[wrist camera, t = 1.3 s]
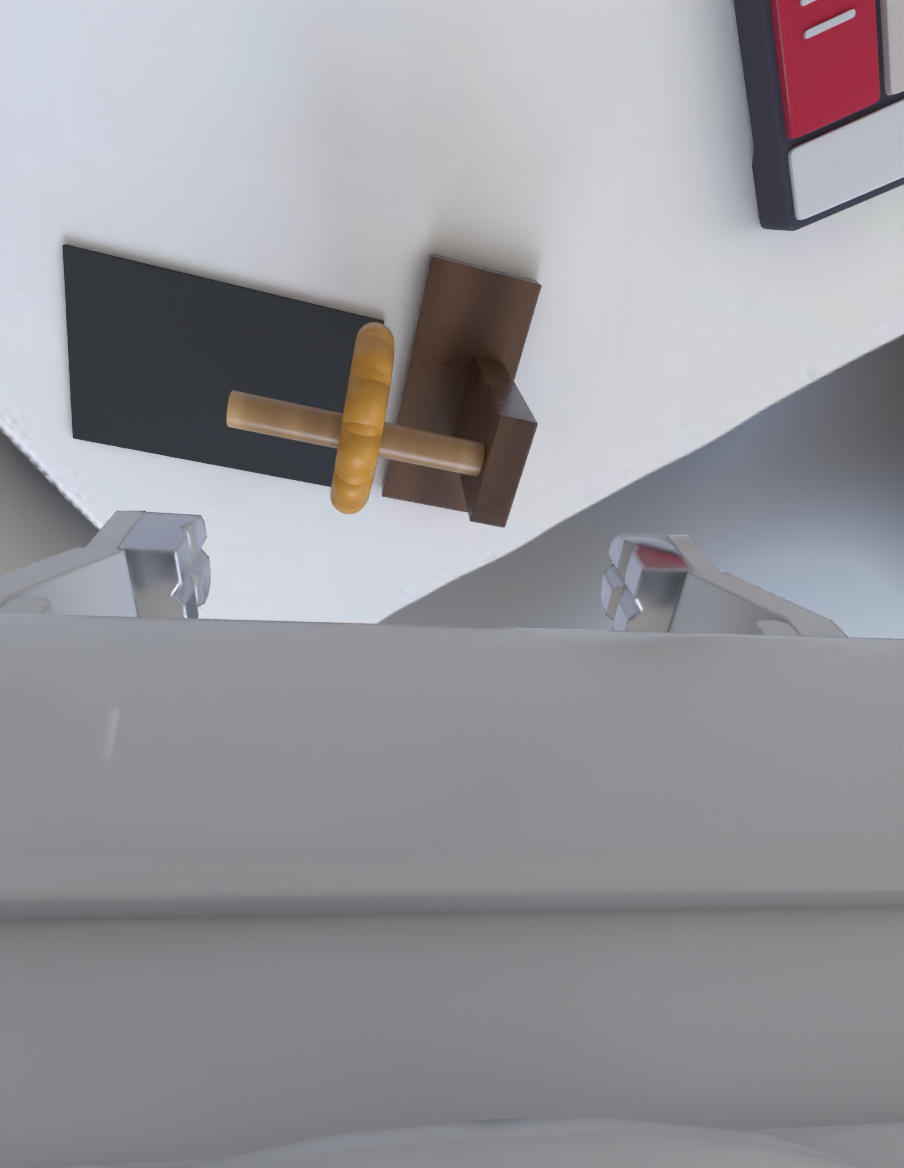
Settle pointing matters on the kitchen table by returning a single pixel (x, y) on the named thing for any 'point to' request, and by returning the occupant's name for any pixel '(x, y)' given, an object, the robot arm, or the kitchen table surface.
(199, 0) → the kitchen table surface
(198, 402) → the mat
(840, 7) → the calculator
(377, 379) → the ring
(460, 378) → the rack
